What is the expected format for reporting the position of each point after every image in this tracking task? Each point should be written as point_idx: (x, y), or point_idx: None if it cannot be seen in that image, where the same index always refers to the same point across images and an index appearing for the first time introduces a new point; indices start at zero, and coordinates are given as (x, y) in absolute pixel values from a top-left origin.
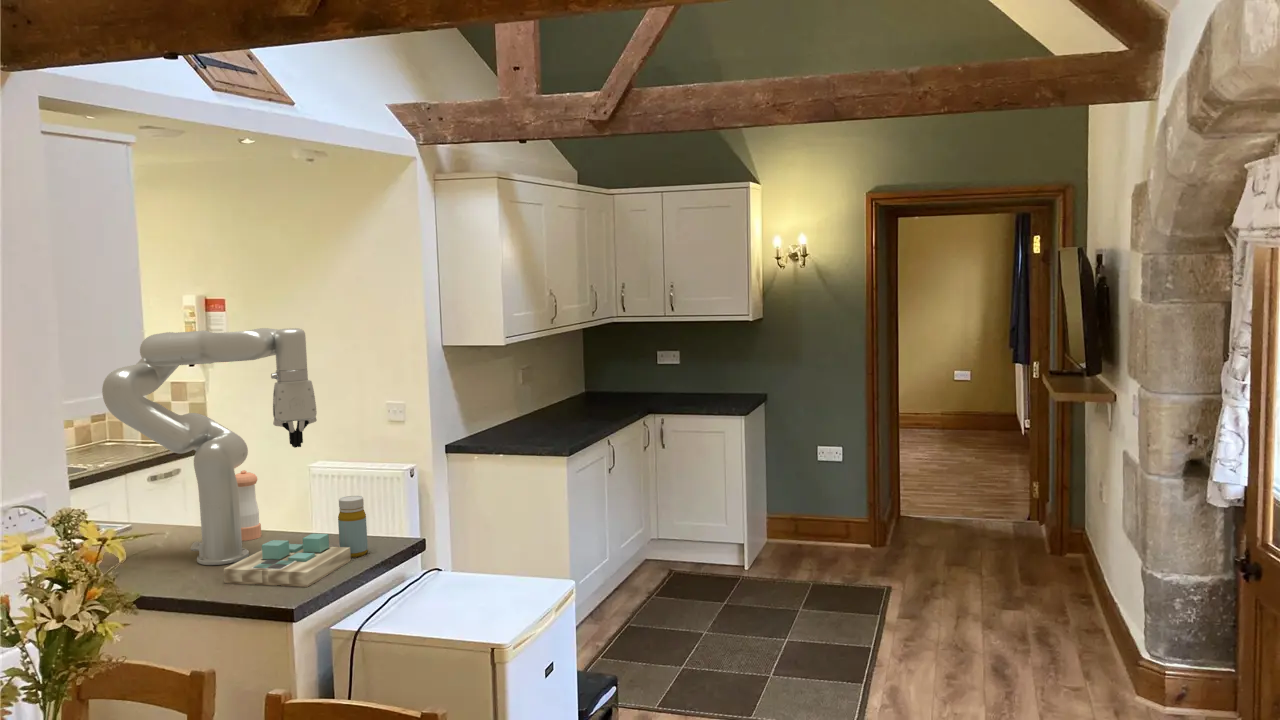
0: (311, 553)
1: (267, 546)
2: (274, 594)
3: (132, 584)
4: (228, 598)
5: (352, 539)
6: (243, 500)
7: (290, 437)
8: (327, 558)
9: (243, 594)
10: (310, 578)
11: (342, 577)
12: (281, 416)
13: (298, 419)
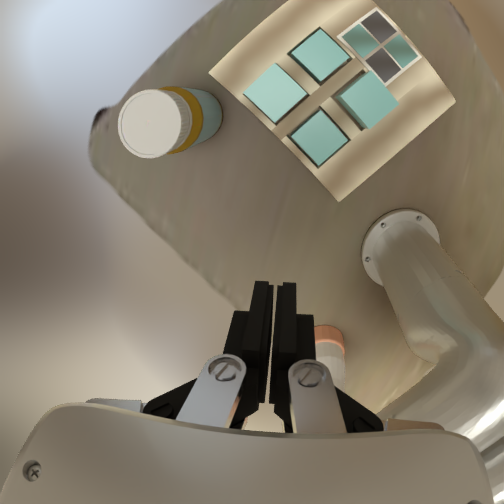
0: (298, 54)
1: (389, 92)
2: None
3: None
4: (450, 21)
5: (194, 89)
6: (335, 380)
7: (314, 348)
8: (273, 21)
9: (429, 19)
10: None
11: None
12: (459, 473)
13: (245, 434)
